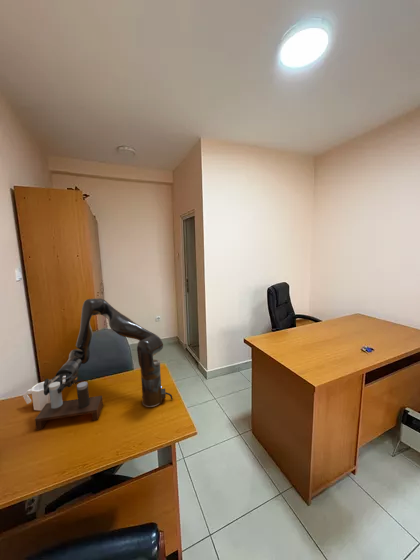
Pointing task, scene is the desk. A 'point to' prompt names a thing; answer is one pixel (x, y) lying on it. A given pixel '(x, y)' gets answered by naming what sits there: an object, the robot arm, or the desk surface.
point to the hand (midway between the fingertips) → (52, 392)
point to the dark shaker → (83, 394)
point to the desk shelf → (69, 410)
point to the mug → (37, 396)
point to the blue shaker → (55, 395)
